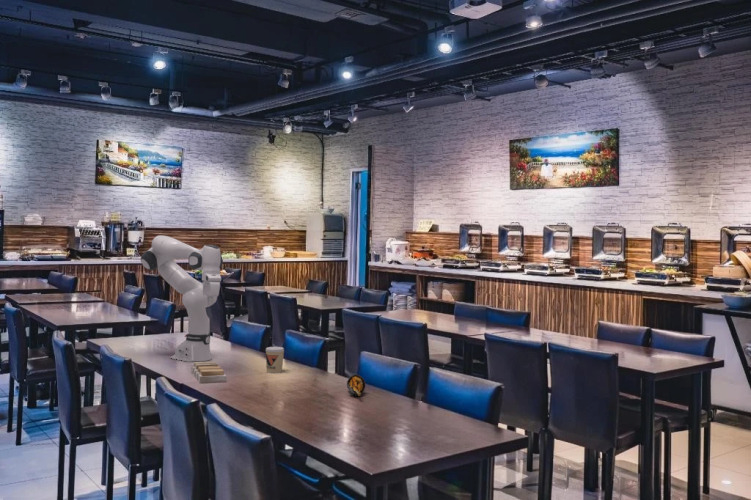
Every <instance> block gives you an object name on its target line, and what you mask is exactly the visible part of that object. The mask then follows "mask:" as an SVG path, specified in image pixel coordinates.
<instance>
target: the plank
mask: <svg viewBox="0 0 751 500" xmlns="http://www.w3.org/2000/svg"><path fill="white" fill-rule="evenodd" d="M198 371H199V373H200V374H201V375H202V376H217V375H224V374H225V370H224V369H223V368H222V367H221V366H220V365H218V364H217V365H214V366H198Z"/></svg>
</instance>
